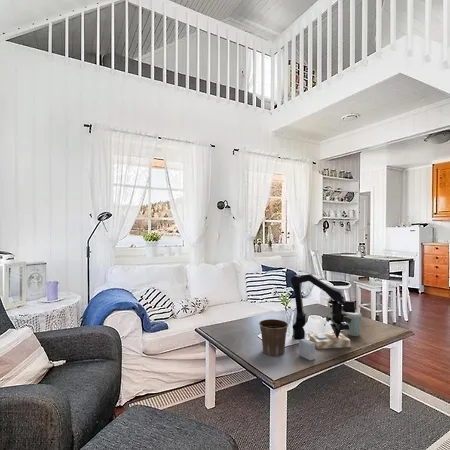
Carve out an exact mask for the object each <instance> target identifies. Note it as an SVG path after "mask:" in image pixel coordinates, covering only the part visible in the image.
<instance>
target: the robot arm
mask: <svg viewBox="0 0 450 450" xmlns="http://www.w3.org/2000/svg"><path fill="white" fill-rule="evenodd" d="M305 282H306V283H307V282H310V283H311V284H313V285H314V286H316V287H317V288H319V289H320V290H322V291H323V292H324V293H326V295H327V296H329V297H330V298H331V299H330V300H329V301H328V304H331V311H330V314H331V315H328V316H326V317H325V322H327V323H329V322H330V323H329V325H330V327H331V329H332V331H333V333H335V335H336V337H339V334H340V333H341V331H348V330H349V326H348V325H347V324H346V322H347V323H349V324H350V323H351V320H352V319H351V318H350V317H348V316H347V315H346V314H345V312H349V313H355V310H356V302H355V300H346V299H345V297H344V296H343V294H342V293H343V292H342V291H341V290H340V289H338V288H336V287H333V286H330V285H328V284H327V283H325V282H323V281H322V280H320V279H318V278H317V277H316V276H314V275H313V274H312V273H307V274H300V275H299V274H294V275H293V276H292V277H291V279H290V283H291V286H292V288H293V292H294V298H295V300H294V301H295V307H296V315H295V322H294V323H293V324H292V335H291V337H292V338H293V339H294V340H295V341H296V340H297V341H299V340H301V339H306V338H305V337H306V331H305V328H304V327H305V326H306V324H307V322H308V320H309V319H308V313H305V311H304V310H305V309H304V302H303V295H302V283H305ZM343 311H344V312H343Z"/></svg>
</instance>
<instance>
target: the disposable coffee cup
mask: <svg viewBox="0 0 450 450" xmlns="http://www.w3.org/2000/svg"><path fill="white" fill-rule="evenodd" d="M344 313H345V314H346V315H347V316H348V317H350V318H351V319H352V320H351V323H350V324H349V323H347V322H345V323H346V324H347V325H348V326H349V330H347V333H348V335H349V336H353V337H358V336H359V334H360V329H361V321H362V316H363V315H362V313H361V312H360V311H359V310H356V309H355V313H349V312H345V311H344Z"/></svg>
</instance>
